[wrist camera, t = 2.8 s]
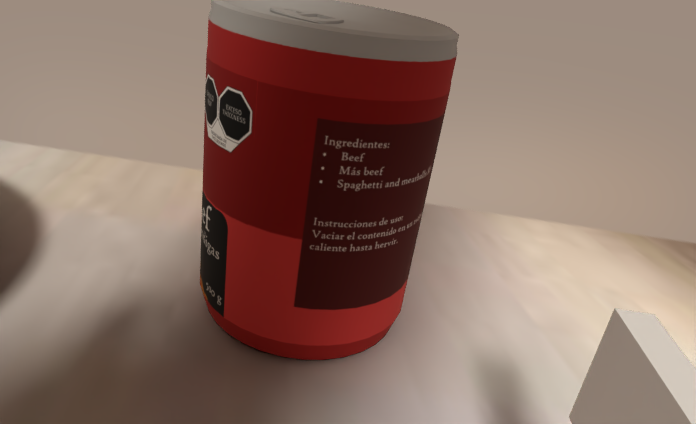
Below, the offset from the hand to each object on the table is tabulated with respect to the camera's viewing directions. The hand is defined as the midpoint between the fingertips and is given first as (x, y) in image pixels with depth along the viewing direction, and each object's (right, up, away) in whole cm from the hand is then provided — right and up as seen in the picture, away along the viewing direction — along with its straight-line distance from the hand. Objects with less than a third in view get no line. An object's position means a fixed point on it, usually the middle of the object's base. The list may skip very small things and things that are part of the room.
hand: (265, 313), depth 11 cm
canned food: (0, -2, +12) cm, 12 cm away
